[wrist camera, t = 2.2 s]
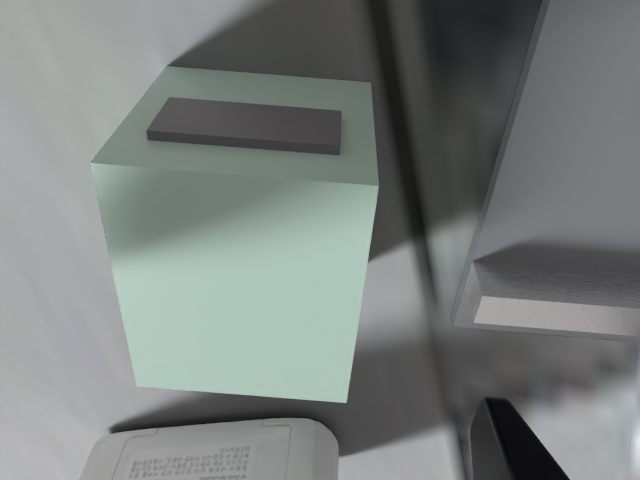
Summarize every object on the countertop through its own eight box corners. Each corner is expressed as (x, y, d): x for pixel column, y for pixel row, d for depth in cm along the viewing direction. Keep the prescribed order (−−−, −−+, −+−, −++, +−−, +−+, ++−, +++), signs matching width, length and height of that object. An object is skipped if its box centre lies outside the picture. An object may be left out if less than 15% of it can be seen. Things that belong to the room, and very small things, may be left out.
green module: (371, 72, 13) (381, 176, 9) (347, 268, 17) (346, 403, 13) (166, 56, 13) (87, 153, 9) (186, 256, 17) (136, 386, 13)
